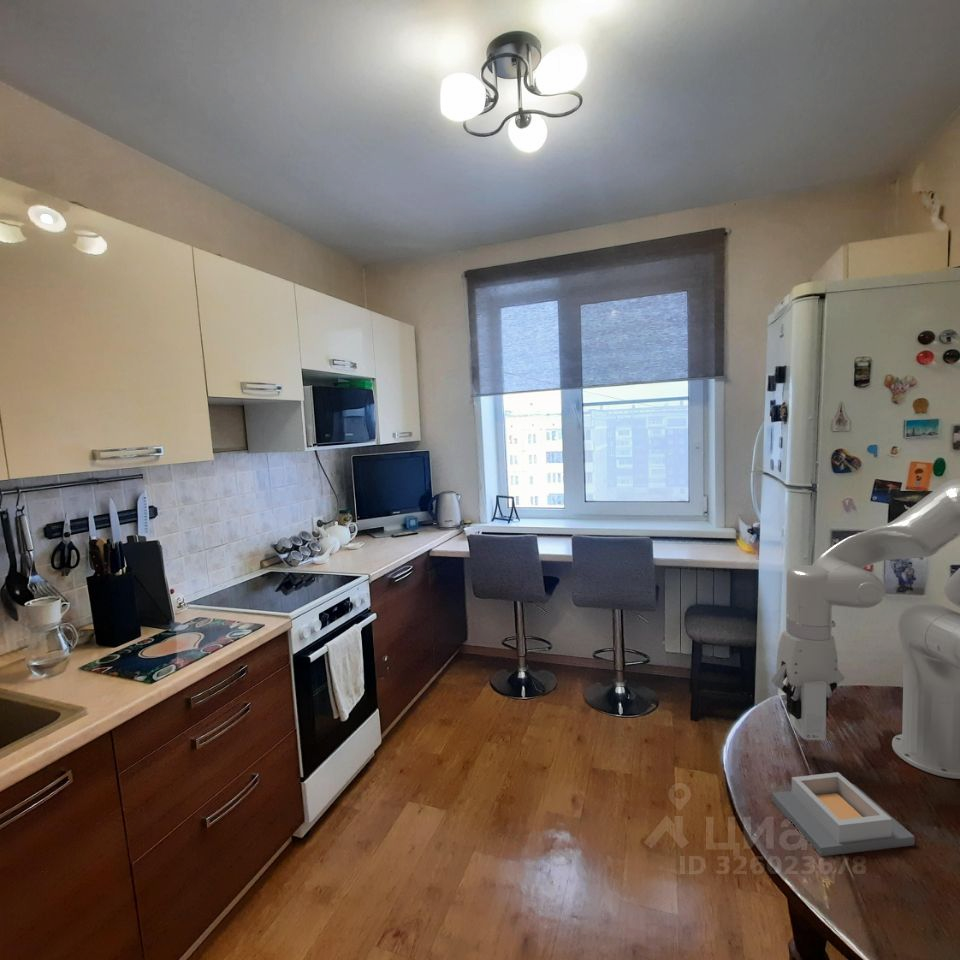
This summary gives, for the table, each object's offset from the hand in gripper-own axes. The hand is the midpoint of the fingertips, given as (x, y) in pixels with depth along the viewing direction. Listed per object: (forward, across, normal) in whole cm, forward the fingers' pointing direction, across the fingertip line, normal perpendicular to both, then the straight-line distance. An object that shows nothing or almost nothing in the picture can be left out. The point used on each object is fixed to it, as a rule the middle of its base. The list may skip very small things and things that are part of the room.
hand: (807, 713), depth 99 cm
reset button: (+10, +6, +15) cm, 19 cm away
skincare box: (+4, 0, 0) cm, 4 cm away
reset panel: (+10, +6, +15) cm, 19 cm away
